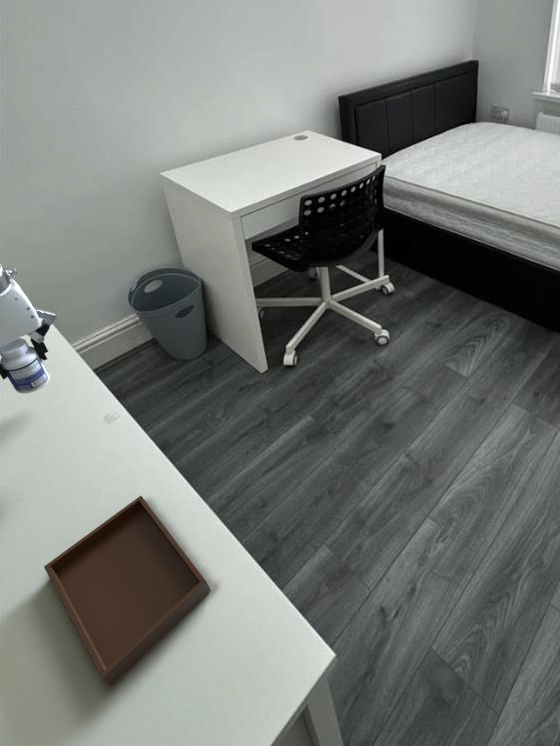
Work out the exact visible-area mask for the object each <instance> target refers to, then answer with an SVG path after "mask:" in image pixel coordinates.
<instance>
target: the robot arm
mask: <svg viewBox="0 0 560 746" xmlns="http://www.w3.org/2000/svg"><path fill="white" fill-rule="evenodd" d="M16 275H18V271H17V270H16V268H15V267H14V266H13V267H10V268H9V267H8V268H5V267H2V264H1V263H0V346H1V345H3V344H5V343H8V342H10V341H12V340H15V339H17V338H23V337H24V336H26V335H27V336H28V337H29V338H30V339H29V341H30V342H31V345H32V347H34V348H35V349H36V350H37V352H38V354H39V356H40V358H41V359H42V361H43V362H44V361H46V360H48V357H47V356H46V355H47V354H46V353H49V350H48V348H47V346H46V344H45V342H44V341H45V336H46V335H47V333H48V332H49V330H50V328H51V326H52V325H53V324H54V322H55V320H56V319H57V315H56V313H54V312H53V311H50V310H46V309H42V308H38V307H34V306H33V304H32V302H31V301H30V299H29V298H28V296H27V294H26V293H25V292H24V290H23V289H22V288H21V286H20V285H19V284H18V283H17V282H16V280H15V279H14V278H13V277H14V276H16ZM41 319H42V320H41ZM0 377H1V378H2V380H6V379H7V378H8V376H7V375H6V373H5V371H4V370H3V368H2V366H1V365H0Z"/></svg>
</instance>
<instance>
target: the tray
mask: <svg viewBox="0 0 560 746" xmlns="http://www.w3.org/2000/svg"><path fill="white" fill-rule="evenodd" d="M43 569H44V570H45V572H46V575H47V576H48V577H49V579H50V581H51V584H52V585H53V587H54V590H55V591H56V593H57V595H58V597H59V599H60V601H61V603H62V604H63V607H64V609H65V611H66V613H67V614H68V616H69V618H70V620H71V621H72V624H73V626H74V628H75V630H76V631H77V633H78V635H79V637H80V639H81V641H82V643H83V646H84V647H85V649H86V650H87V653H88V655H89V657H90V658H91V661H92V662H93V664H94V666H95V668H96V670H97V672H98V674H99V675H100V677H101V679H102V680H103V681H104V682H105V683H106V684H107V685H108V686H109V687H112V685H113V684H115V683H116V682H117V681H118V680H119V679H120V678H121V677H122V676H123V675H125V674H126V672H127V671H128V670H130V668H132V667H133V666H134V665H135V664H136V663H137V662H138V661H139V660H140V659H141V658H142V657H143V656H144V655H146V653H147V652H148V651H149V650H150V649H151V648H153V646H155V644H156V643H158V642H159V641H160V640H161V639H162V638H163V637H164V636H165V635H166V634H167V633H169V631H170V630H171V629H173V627H175V625H176V624H178V623H179V622H180V621H181V620H182V619H183V618H184V617H185V616H186V615H187V614H188V613H189V612H190V611H191V610H193V608H195V606H197V605H198V603H200V601H202V600H203V599H204V598H205V597H206V596H207V595H208V594H209V593H210V592H211V591H212V589H211V588H210V586H209V583H208V581H207V580H206V579H205V577H204V576H203V574H202V573H201V572H200V570H198V569H199V568H197V567H196V565H195V564H194V563H193V561H192V560H191V559H190V557H189V556H188V555H187V553H186V552H185V550H184V549H183V548H182V547H181V546H180V544H179V543H178V542H177V541H176V539H175V538H174V537H173V535H172V534H171V532H170V531H169V530H168V528H167V527H166V526H165V525H164V523H163V522H162V521H161V520H160V518H159V516H158V515H157V514H156V513H155V511H154V510H153V509H152V508H151V506H150V505H149V504H148V502H147V500H145V498H144V497H143V496H142V495H139V496H137V498H135V499H134V500H132V501H131V502H130V503H128V504H127V505H125V506H124V507H122V508H121V509H120V510H119V511H117V512H116V513H115V514H113V515H112V516H111V517H109V518H108V519H106V520H105V521H104V522H102V523H101V524H99V525H98V526H97V527H96V528H94V529H93V530H92V531H90V532H89V533H87V534H86V535H84V536H83V537H82V538H80V539H79V540H78V541H77V542H75V543H74V544H72V545H71V546H70V547H68V548H67V549H66V550H63V552H61V553H60V554H59V555H57V556H56V557H55V558H53V559H52V560H51V561H49V562H48V563H46V564H45V565H44V566H43Z"/></svg>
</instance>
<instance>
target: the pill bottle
mask: <svg viewBox="0 0 560 746" xmlns="http://www.w3.org/2000/svg"><path fill="white" fill-rule="evenodd" d="M0 357H1V358H0V365H1V366H2V368H3V370H4V371H5V373H6V375H7V376H8V377H7V379H8V381H9V382H10V383H11V385H12V387H13V389H14V390H15V391H16V392H17V393H19V394H23V395H24V394H30V393H35V392H36V391H38V390H41V389H42V388H44V387H45V386H46V385H47V384H48V383H49V382H50V380H51V375H50V373H49V370H48V369H47V366H46V365H45V363H44V360H42V359H41V358H40V356H39V354H38V352H37V350H36V349H35V348H34V346H31V345H29V343H28V341H27V340H26V339H25V338H23V337H20V338H17V339H15V340H12V341H10V342H8V343H5V344H3V345H1V346H0Z"/></svg>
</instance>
